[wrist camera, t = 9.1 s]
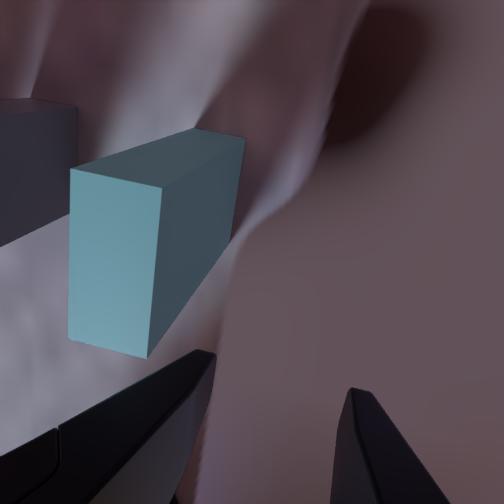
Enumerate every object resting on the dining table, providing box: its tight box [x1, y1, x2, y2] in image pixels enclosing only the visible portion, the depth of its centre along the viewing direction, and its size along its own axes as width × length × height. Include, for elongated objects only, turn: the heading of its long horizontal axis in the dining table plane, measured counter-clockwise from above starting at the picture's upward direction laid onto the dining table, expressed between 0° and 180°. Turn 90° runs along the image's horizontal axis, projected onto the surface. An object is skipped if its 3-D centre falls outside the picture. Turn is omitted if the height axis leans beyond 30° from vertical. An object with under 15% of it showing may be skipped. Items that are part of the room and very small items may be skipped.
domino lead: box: [68, 128, 246, 359], centre depth 17 cm, size 2×5×10 cm, turn 171°
